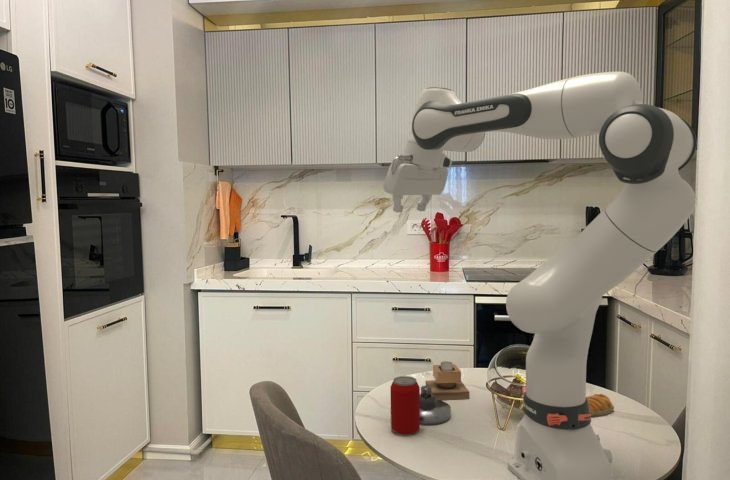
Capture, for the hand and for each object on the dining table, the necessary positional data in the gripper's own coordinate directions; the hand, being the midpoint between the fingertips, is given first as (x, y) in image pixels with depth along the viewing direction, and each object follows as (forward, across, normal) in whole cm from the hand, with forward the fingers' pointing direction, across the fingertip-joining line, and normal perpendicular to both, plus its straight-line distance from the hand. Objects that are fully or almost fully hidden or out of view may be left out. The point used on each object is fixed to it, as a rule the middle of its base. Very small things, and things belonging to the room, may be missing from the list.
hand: (409, 211), depth 124 cm
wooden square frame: (+45, +16, -15) cm, 50 cm away
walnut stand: (+48, +16, -16) cm, 53 cm away
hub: (+47, 0, -20) cm, 51 cm away
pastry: (+38, +30, -49) cm, 69 cm away
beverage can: (+47, -10, -21) cm, 52 cm away
